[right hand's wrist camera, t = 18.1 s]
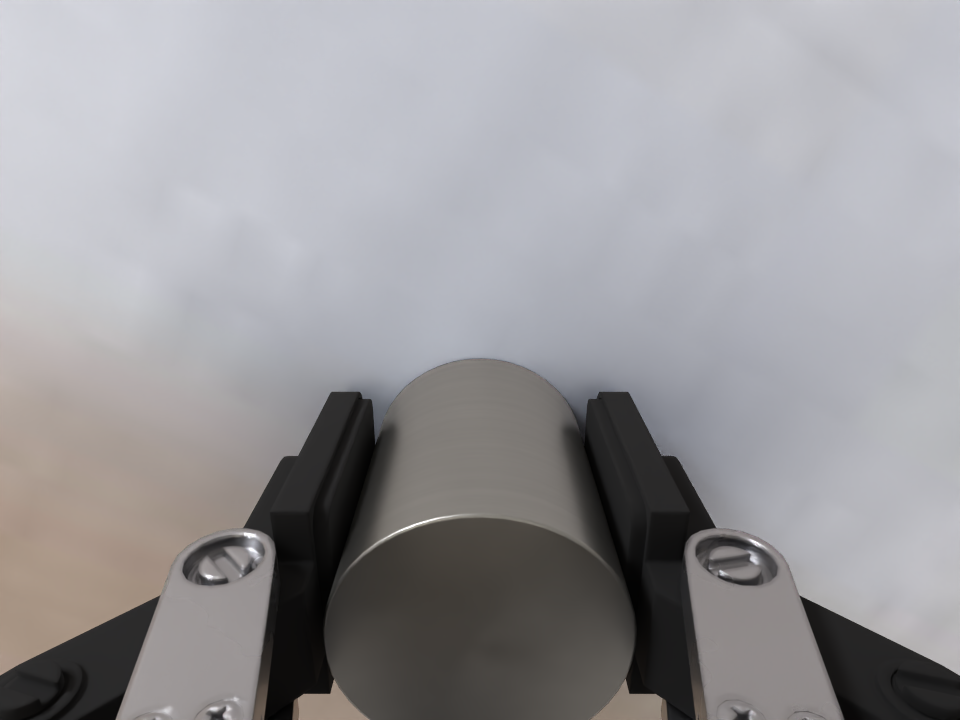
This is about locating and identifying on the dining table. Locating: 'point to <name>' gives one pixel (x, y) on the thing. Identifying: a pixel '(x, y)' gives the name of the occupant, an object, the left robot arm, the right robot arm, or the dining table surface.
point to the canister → (479, 560)
